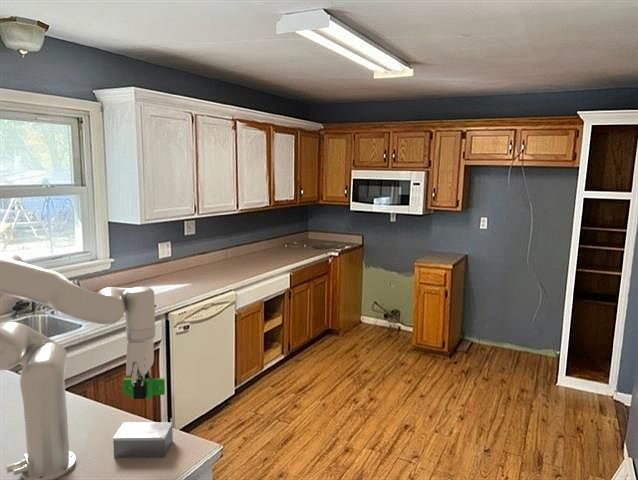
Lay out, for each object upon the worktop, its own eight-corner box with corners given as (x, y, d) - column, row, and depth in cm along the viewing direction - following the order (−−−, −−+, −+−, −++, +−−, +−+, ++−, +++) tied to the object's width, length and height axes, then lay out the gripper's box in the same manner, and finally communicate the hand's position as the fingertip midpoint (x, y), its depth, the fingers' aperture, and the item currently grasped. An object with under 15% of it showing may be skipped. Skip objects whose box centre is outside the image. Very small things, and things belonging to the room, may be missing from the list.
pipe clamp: (120, 399, 129) (119, 383, 129) (125, 393, 133) (124, 378, 132) (161, 399, 130) (161, 383, 129) (165, 393, 134) (164, 377, 133)
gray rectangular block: (114, 457, 129) (113, 437, 129) (124, 441, 137) (123, 422, 136) (165, 457, 130) (164, 437, 129) (172, 441, 138) (172, 422, 137)
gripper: (136, 322, 137) (138, 381, 139) (115, 343, 120) (117, 409, 123) (162, 322, 137) (164, 381, 140) (145, 343, 121) (146, 409, 123)
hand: (142, 393), depth 131 cm, fingers closed on pipe clamp, 3 cm apart
